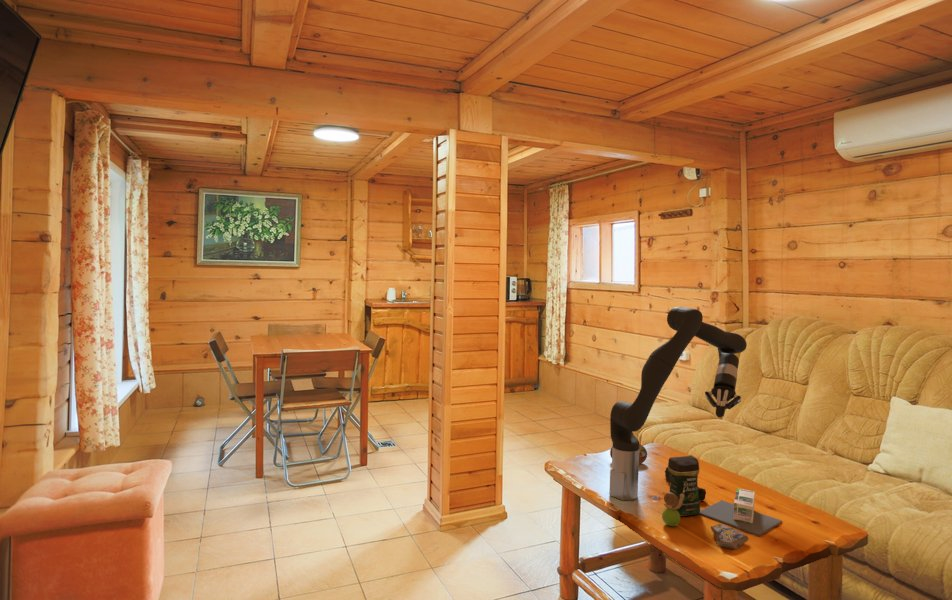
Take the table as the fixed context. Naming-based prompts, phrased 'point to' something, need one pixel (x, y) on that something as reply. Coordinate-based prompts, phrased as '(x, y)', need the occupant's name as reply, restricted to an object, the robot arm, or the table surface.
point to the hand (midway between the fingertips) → (719, 416)
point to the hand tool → (700, 490)
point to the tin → (641, 453)
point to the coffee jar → (685, 483)
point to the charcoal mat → (725, 514)
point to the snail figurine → (672, 508)
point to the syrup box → (744, 505)
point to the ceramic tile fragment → (728, 536)
